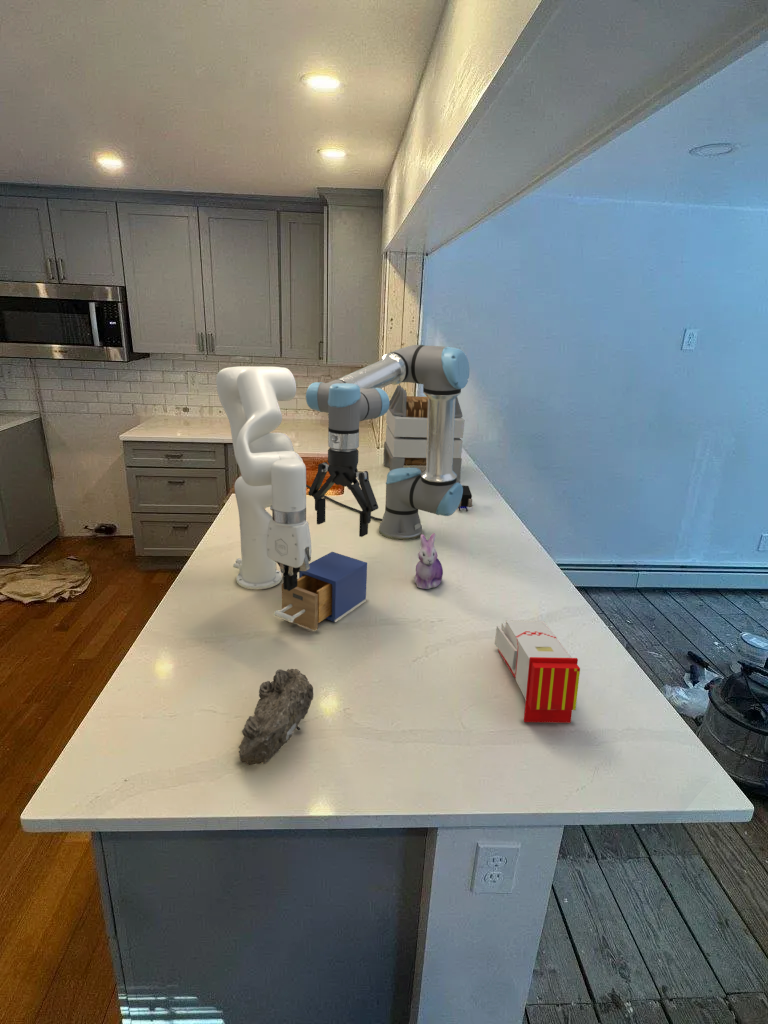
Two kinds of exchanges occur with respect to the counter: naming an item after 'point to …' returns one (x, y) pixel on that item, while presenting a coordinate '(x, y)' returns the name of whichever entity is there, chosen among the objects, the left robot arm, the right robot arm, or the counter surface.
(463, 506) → the figurine character
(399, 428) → the grey wooden crate
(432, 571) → the figurine
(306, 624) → the drawer
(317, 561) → the cabinet
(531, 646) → the toy
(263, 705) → the fossil
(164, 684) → the counter surface
